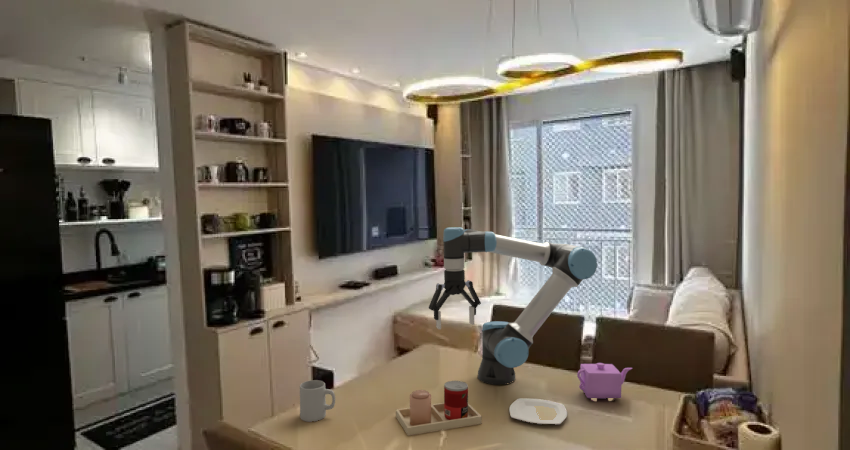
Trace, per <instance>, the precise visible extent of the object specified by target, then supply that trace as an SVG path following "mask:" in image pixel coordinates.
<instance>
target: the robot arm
mask: <svg viewBox="0 0 850 450" xmlns="http://www.w3.org/2000/svg"><path fill="white" fill-rule="evenodd" d="M442 238H443V239H442V242H443V243H442V244H443V268H444V270H443V275H444V283H436V286H435V290H434V291H435V292H434V294H433V296H432V298H431V301H430V303H429V305H428V309H429V310H431V311H432V312H433V320H435V322H436V326H435V328H437V329H438V330H441V329H442V312H441V311H440V309H441V308H442V306H443V305H444V304H445V302H446V301H447V299H448V298H449V297H450V296H455V295H462V297H463V298H465V300H466V301H467V302H468V303H469V307H468V315H469V317H468V318H469V319H468V320H469V325H470V324H471V325H472V326H475V316H477V308H478V307H479V305H481V304H482V301H481V300H480V298H479V295H478V294H477V291H476V289H475V288H474V282H473V281H472V280H467V281H465V278H466V277H465V274H466V273H465V272H466V271H465V270H464V269H465V254H469V253H491V254H497V255H501V256H502V255H503V256H507V257H511V258H516V259H521V260H527V261H531V262H537V263H539V264H540V265H541V266H544V267H549V268H550V269H551V270H552V274H551V275H550V276H549V278H548V279H547V280H546V282H544V284H543V285H542V286H541V287H540V288H539V291H538V292H536V294H535V295H534V296H533V298H532V299H531V301H530V302H529V303H528V304H527V305H526V307H524V309H523V311H522V312H521V313H520V314H519V316H518V317H517V318H516V319H515V321H513V322H508V321H501V320H500V321H486V322H484V323H483V324H482V330H481V332H482V333H481V334H482V335H481V336H482V337H481V338H482V339H481V342H482V346H481V350H482V353H481V355H482V356H481V357H482V358H481V362H480V365H479V367H478V371H477V379H478V380H479V381H480V382H483V383H485V384H488V385H496V386H497V385H498V384H499V385H500V384H504V385H508V384H507V383H509V384H511V383H510V382H512V381H514V380H515V381H516V371H515V369H514V368H518V367H521V366H522V365H524V364H525V363H526V362H527V360H528V359H529V358H528V357H529V352H530V351H529V349H530V347H531V346H532V345H533V344H534V340H533V337H534V335H536V333H537V332H538V330H540V328H541V327H542V325H543V324H545V322H546V320H547V319H548V317H550V315H551V314H552V313H553V312H554V310H555V309H556V308H557V307H558V305H559V304H560V303H561V301H562V300H563V299H564V297H566V295H567V294H568V292H569V291H570V290H571V289H572V288H578V286H579V285H580V284H581V282H583V280H587V279H588V280H589V279H590V278H592V277H593V276H594V274H595V273H596V271H597V269H598V262H597V261H598V260H597V257H596V254H594V252H593V251H592V250H590V249H588V248H586V247H584V246H578V245H573V244H570V243H569V244H568V243H555V242H554V243H553V242H547V241H545V242H543V243H542V242H535V241H531V240H525V239H521V238H516V237H510V236H507V235H506V236H505V235H500V234H496V233H495V232H493V231H481V230H476V229H474V228H467V229H464V228H463V227H459V226H458V227H455V226H453V227H451V226H450V227H446V228H444V230H443V237H442ZM465 287H467V289H468V292H469V293H470V295H471V296H470V295H469V293H467V291H466V290H465ZM443 289H444V291H443ZM442 291H443V293H442ZM441 294H442V295H441ZM440 295H441V296H440ZM515 381H514V382H515ZM512 383H513V382H512ZM499 385H498V386H499ZM500 386H501V385H500Z"/></svg>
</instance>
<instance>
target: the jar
mask: <svg viewBox="0 0 850 450" xmlns="http://www.w3.org/2000/svg"><path fill="white" fill-rule="evenodd" d="M431 404H432V394H431V393H430V392H429V391H427V390H424V389H417V390H414V391H412V393H410V394H409V408H410V424H411V425H412V426H416V425H422V424H428V423H431Z"/></svg>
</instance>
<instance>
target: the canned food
mask: <svg viewBox="0 0 850 450" xmlns="http://www.w3.org/2000/svg"><path fill="white" fill-rule="evenodd" d="M443 389H444V390H443V393H444V394H443V399H444V400H443V401H444V402H443V403H444V415H445V418H446V419H448V420H454V419H460V418H467V417H468V403H469V385H468V383H467V382H464V381H462V380H450V381H447V382H445V383H444V386H443Z"/></svg>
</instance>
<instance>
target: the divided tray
mask: <svg viewBox="0 0 850 450" xmlns="http://www.w3.org/2000/svg"><path fill="white" fill-rule="evenodd" d="M482 417H483V416H482V415H481V414H480V413H479V412H478V411H477V410H476V409H475V408H474V407H473V406H472V405H470V403H469V402H468V417H467V418H460V419H454V420H448V419H446V418H445V415H444V402H440V403H439V402H438V403H431V423H428V424H422V425H416V426H412V425H411V424H410V407H405V408H398V409H395V418H396V419H397V421H398V423H399V424H400V426H401V427H402V429H403V430H404V432H405V434H406V435H407V436H408V437H409V436H413V435H415V436H416V435H420V434H427V433H433V432H439V431H446V430H451V429H457V428H463V427H464V428H465V427H469V426H475V425H481V424H482V423H483V421H482Z"/></svg>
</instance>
